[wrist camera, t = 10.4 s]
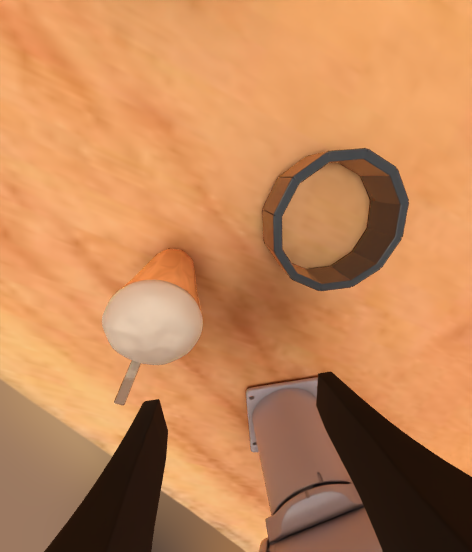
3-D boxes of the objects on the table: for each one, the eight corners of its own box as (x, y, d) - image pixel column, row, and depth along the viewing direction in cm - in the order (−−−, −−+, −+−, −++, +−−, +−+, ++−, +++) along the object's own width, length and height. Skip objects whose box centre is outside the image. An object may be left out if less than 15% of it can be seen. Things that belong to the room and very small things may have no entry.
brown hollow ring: (368, 267, 21) (394, 282, 18) (264, 280, 20) (274, 297, 17) (384, 149, 18) (420, 143, 15) (260, 159, 17) (272, 155, 14)
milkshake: (130, 288, 19) (62, 389, 10) (157, 228, 18) (107, 282, 9) (183, 310, 20) (167, 417, 11) (213, 255, 19) (221, 328, 10)
